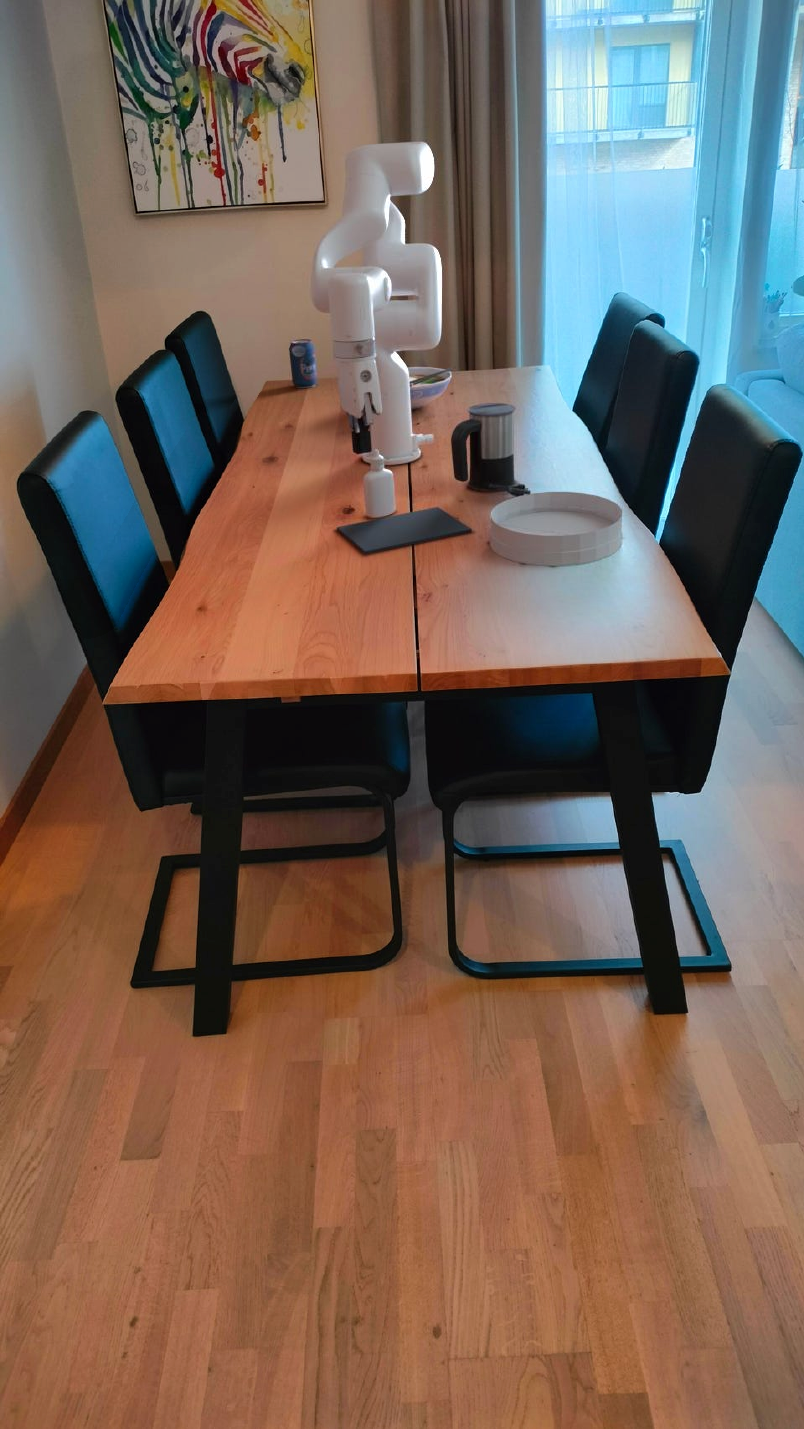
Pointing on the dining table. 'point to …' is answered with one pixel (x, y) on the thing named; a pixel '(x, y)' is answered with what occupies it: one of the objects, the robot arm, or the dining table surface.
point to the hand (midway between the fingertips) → (362, 452)
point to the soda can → (303, 363)
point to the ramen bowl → (427, 384)
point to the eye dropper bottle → (379, 489)
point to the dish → (556, 528)
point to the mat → (403, 530)
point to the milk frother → (487, 449)
